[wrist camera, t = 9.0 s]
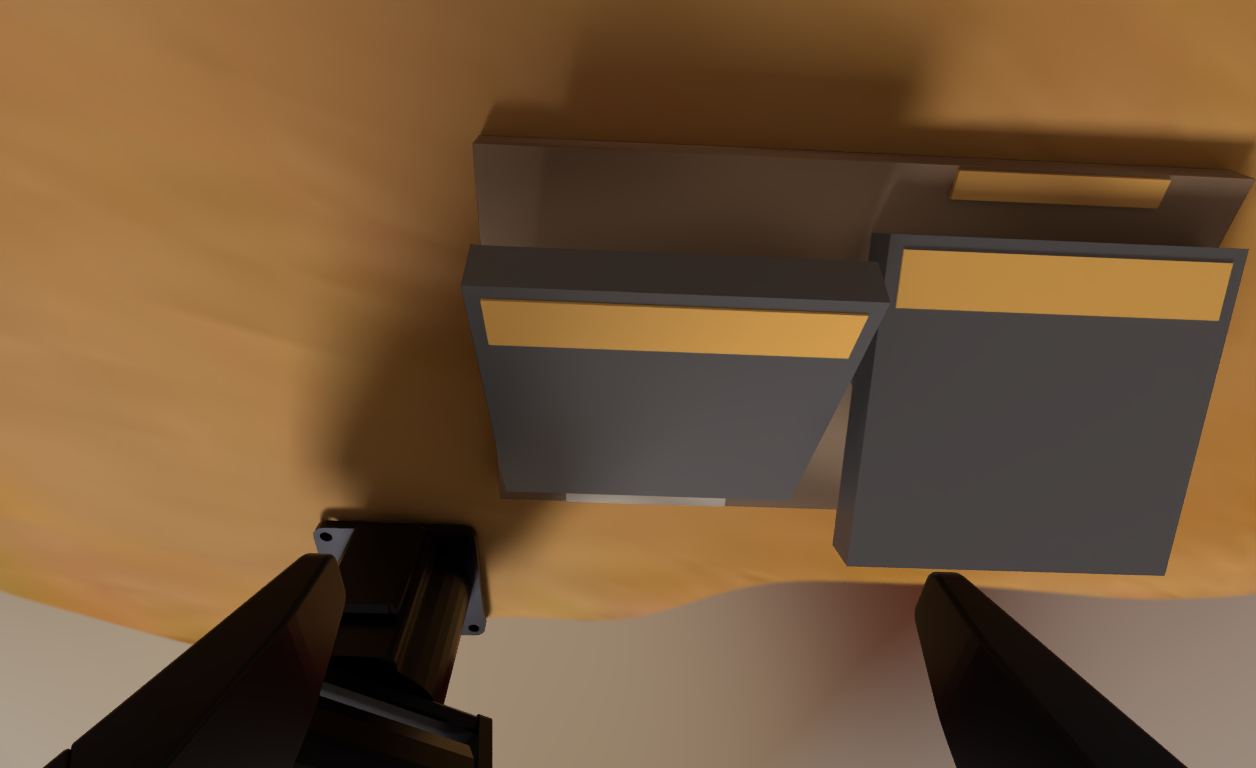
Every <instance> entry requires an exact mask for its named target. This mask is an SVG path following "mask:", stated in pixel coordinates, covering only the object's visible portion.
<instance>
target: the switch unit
mask: <svg viewBox="0 0 1256 768" xmlns="http://www.w3.org/2000/svg"><path fill="white" fill-rule="evenodd" d="M473 155H474V168H475V180H476V193H477V206H478V219H479V231H480V244H481V245H490V246H514V247H538V248H562V249H586V250H609V251H633V252H657V253H681V254H705V255H729V256H753V257H777V258H801V259H824V260H848V261H868V258H869V250H870V242H871V234H872V233H884V234H908V235H931V236H954V237H977V238H1001V239H1024V240H1047V241H1071V242H1094V243H1117V244H1140V245H1164V246H1187V247H1210V248H1218V247H1219V245H1220V243H1221V241H1222V240H1223V238H1224V236H1225V234H1226V232H1227V230H1228V229H1229V227H1230V225H1231V223H1232V221H1233V220H1234V218H1235V216H1236V214H1237V212H1238V210H1239V209H1240V207H1241V205H1242V203H1243V201H1244V200H1245V198H1246V196H1247V194H1248V192H1249V190H1250V189H1251V187H1252V185H1253V183H1254V181H1255V179H1254V178H1251V177H1248V176H1245V175H1242V174H1240V173H1237V172H1234V171H1231V170H1225V169H1203V168H1181V167H1159V166H1138V165H1116V164H1094V163H1072V162H1051V161H1029V160H1007V159H985V158H963V157H942V156H920V155H898V154H876V153H855V152H833V151H811V150H789V149H768V148H746V147H724V146H702V145H681V144H659V143H637V142H615V141H593V140H572V139H550V138H528V137H506V136H485V135H479V136H478V138H477V139H476V140H475V141H474V142H473ZM853 378H854V376H853ZM853 378H852V380H851V382H850V384H849V386H848V387H847V389H846V391H845V393H844V395H843V397H842V399H841V401H840V403H839V405H838V407H837V409H836V411H835V413H834V415H833V417H832V419H831V421H830V423H829V425H828V427H827V429H826V431H825V433H824V435H823V436H822V438H821V440H820V442H819V444H818V446H817V448H816V450H815V452H814V454H813V456H812V458H811V460H810V462H809V464H808V466H807V468H806V470H805V472H804V474H803V476H802V478H801V480H800V482H799V484H798V485H797V487H796V489H795V491H794V493H793V495H792V497H791V499H790V501H784V500H754V499H723V498H693V497H662V496H632V495H601V494H571V493H540V492H509V491H506V488H505V484H504V479H503V475H502V470H501V466H500V461H499V457H498V452H497V460H498V473H499V486H500V498H501V499H530V500H561V501H566V502H593V503H624V504H655V505H686V506H716V507H724V506H745V507H776V508H807V509H837V506H838V498H839V490H840V482H841V474H842V466H843V458H844V450H845V442H846V434H847V426H848V418H849V410H850V402H851V394H852V386H853Z"/></svg>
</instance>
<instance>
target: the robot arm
mask: <svg viewBox="0 0 1256 768" xmlns="http://www.w3.org/2000/svg"><path fill="white" fill-rule="evenodd" d="M328 533H329V534H328ZM313 535H314V540H315V543H316V547H317V550H318V553H308V554H305V555H303V556H301V557H300V558H298V559H297V560H296V561H295V562H294V563H292V564H291V565H290V566H289V567H288V568H286V569H285V570H284V571H283V572H281V573H280V574H279V575H278V576H277V577H275V578H274V579H273V580H272V581H270V582H269V583H268V584H267V585H266V586H264V587H263V588H262V589H261V590H259V591H258V592H257V593H256V594H255V595H253V596H252V597H251V598H250V599H248V600H247V601H246V602H245V603H244V604H242V605H241V606H240V607H239V608H237V609H236V610H235V611H234V612H233V613H231V614H230V615H229V616H228V617H227V618H225V619H224V620H223V621H222V622H220V623H219V624H218V625H217V626H216V627H214V628H213V629H212V630H211V631H209V632H208V633H207V634H206V635H205V636H203V637H202V638H201V639H200V640H198V641H197V642H196V643H195V644H194V645H192V646H191V647H190V648H189V649H187V650H186V651H185V652H184V653H183V654H181V655H180V656H179V657H178V658H177V659H175V660H174V661H173V662H172V663H170V664H169V665H168V666H167V667H166V668H164V669H163V670H162V671H161V672H160V673H158V674H157V675H156V676H155V677H153V678H152V679H151V680H150V681H148V682H147V683H146V684H145V685H144V686H142V687H141V688H140V689H139V690H137V691H136V692H135V693H134V694H133V695H131V696H130V697H129V698H128V699H126V700H125V701H124V702H123V703H122V704H120V705H119V706H118V707H117V708H115V709H114V710H113V711H112V712H111V713H109V714H108V715H107V716H106V717H104V718H103V719H102V720H101V721H100V722H98V723H97V724H96V725H95V726H93V727H92V728H91V729H90V730H89V731H87V732H86V733H85V734H84V735H83V736H81V737H80V738H79V739H78V740H76V741H75V742H74V743H73V744H72V746H71V749H66V750H64V751H63V752H61V753H60V754H59V755H58V756H57V757H55V758H54V759H53V760H52V761H50V762H49V763H48V764H47V765H46V766H44V767H43V768H492V719H491V718H488V717H485V716H483V715H480V714H478V715H477V716H475V715H472V714H469V713H466V712H463V711H461V710H458V709H455V708H452V707H449V706H446V705H444V702H445V698H446V694H447V689H448V686H449V682H450V678H451V674H452V670H453V665H454V661H455V657H456V653H457V649H458V645H459V641H460V636H461V635H480V634H482V633H483V632H484V631H485V626H486V612H485V603H484V594H483V584H482V575H481V566H480V557H479V547H478V538H477V533H476V531H475V530H474V529H473V528H472V527H470V526H466V525H445V524H413V523H382V522H350V521H322V522H321V523H319V524H318V526H317V528H316V529H315V531H314V533H313ZM462 537H466V538H462ZM915 623H916V628H917V632H918V636H919V639H920V644H921V648H922V652H923V656H924V660H925V664H926V668H927V672H928V676H929V680H930V684H931V689H932V692H933V697H934V701H935V704H936V708H937V712H938V716H939V719H940V722H941V725H942V728H943V731H944V734H945V737H946V740H947V743H948V745H949V748H950V751H951V754H952V757H953V759H954V762H955V765H956V768H1188V767H1186V766H1185V765H1184V764H1183V763H1181V762H1180V761H1179V760H1178V759H1177V758H1176V757H1175V756H1173V755H1172V754H1171V753H1170V752H1169V751H1168V750H1166V749H1165V748H1164V747H1163V746H1162V745H1161V744H1159V743H1158V742H1157V741H1156V740H1155V739H1153V738H1152V737H1151V736H1150V735H1149V734H1148V733H1147V732H1145V731H1144V730H1143V729H1142V728H1141V727H1140V726H1138V725H1137V724H1136V723H1135V722H1134V721H1133V720H1131V719H1130V718H1129V717H1127V715H1125V714H1124V713H1123V712H1122V711H1121V710H1120V709H1118V708H1117V707H1116V706H1115V705H1114V704H1113V703H1111V702H1110V701H1109V700H1108V699H1107V698H1105V697H1104V696H1103V695H1102V694H1101V693H1100V692H1099V691H1097V690H1096V689H1095V688H1094V687H1093V686H1092V685H1090V684H1089V683H1088V682H1087V681H1086V680H1084V679H1083V678H1082V677H1081V676H1080V675H1079V674H1077V673H1076V672H1075V671H1074V670H1073V669H1072V668H1070V667H1069V666H1068V665H1067V664H1066V663H1065V662H1063V661H1062V660H1061V659H1060V658H1059V657H1058V656H1056V655H1055V654H1054V653H1053V652H1052V651H1051V650H1049V649H1048V648H1047V647H1046V646H1045V645H1043V644H1042V643H1041V642H1040V641H1039V640H1038V639H1036V638H1035V637H1034V636H1033V635H1031V633H1029V632H1028V631H1027V630H1026V629H1025V628H1024V627H1022V626H1021V625H1020V624H1019V623H1018V622H1017V621H1015V620H1014V619H1013V618H1012V617H1011V616H1009V615H1008V614H1007V613H1006V612H1005V611H1004V610H1002V609H1001V608H1000V607H999V606H998V605H997V604H995V603H994V602H993V601H992V600H991V599H990V598H988V597H987V596H986V595H985V594H984V593H983V592H981V591H980V590H979V589H978V588H977V587H976V586H974V585H973V584H972V583H971V582H970V581H969V580H967V579H966V578H965V577H964V576H962V575H961V574H959V573H954V572H932V573H931V574H930V575H929V576H928V578H927V580H926V582H925V584H924V587H923V589H922V592H921V594H920V596H919V599H918V601H917V604H916V607H915Z"/></svg>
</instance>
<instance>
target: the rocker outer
mask: <svg viewBox="0 0 1256 768" xmlns="http://www.w3.org/2000/svg"><path fill="white" fill-rule="evenodd" d="M1248 250H1249V249H1233V248H1210V247H1187V246H1164V245H1140V244H1117V243H1094V242H1071V241H1047V240H1024V239H1001V238H977V237H954V236H931V235H908V234H884V233H872V234H871V242H870V250H869V258H868V261H872V262H878V264H879V267H880V270H881V273H882V276H883V280H884V283H885V286H886V289H887V293H888V296H889V299H890V302H891V303H890V305H889V307H888V309H887V311H886V313H885V315H884V317H883V319H882V321H881V323H880V325H879V327H878V329H877V331H876V333H875V335H874V336H873V338H872V340H871V342H870V344H869V346H868V348H867V350H866V352H865V354H864V356H863V358H862V360H861V362H860V364H859V366H858V368H857V370H856V372H855V374H854V378H853V386H852V394H851V402H850V410H849V418H848V426H847V434H846V442H845V450H844V458H843V466H842V474H841V482H840V490H839V498H838V506H837V513H836V521H835V529H834V537H833V546H834V548H835V549H836V551H837V552H838V554H839V555H840V557H841V558H842V560H843V561H844V563H845V564H846V566H858V567H891V568H924V569H957V570H990V571H1023V572H1056V573H1089V574H1122V575H1155V576H1165V572H1166V568H1167V564H1168V560H1169V557H1170V553H1171V549H1172V545H1173V541H1174V537H1175V533H1176V529H1177V526H1178V522H1179V518H1180V514H1181V510H1182V506H1183V502H1184V498H1185V495H1186V491H1187V487H1188V483H1189V479H1190V475H1191V471H1192V467H1193V464H1194V460H1195V456H1196V452H1197V448H1198V444H1199V440H1200V436H1201V432H1202V429H1203V425H1204V421H1205V417H1206V413H1207V409H1208V405H1209V401H1210V398H1211V394H1212V390H1213V386H1214V382H1215V378H1216V374H1217V370H1218V367H1219V363H1220V359H1221V355H1222V351H1223V347H1224V343H1225V339H1226V336H1227V332H1228V328H1229V324H1230V320H1231V316H1232V312H1233V308H1234V305H1235V301H1236V297H1237V293H1238V289H1239V285H1240V281H1241V277H1242V273H1243V270H1244V266H1245V262H1246V258H1247V254H1248Z"/></svg>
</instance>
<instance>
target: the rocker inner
mask: <svg viewBox="0 0 1256 768" xmlns="http://www.w3.org/2000/svg"><path fill="white" fill-rule="evenodd" d="M461 288H462V293H463V297H464V302H465V306H466V311H467V316H468V320H469V325H470V329H471V334H472V338H473V343H474V347H475V352H476V356H477V361H478V366H479V370H480V375H481V379H482V384H483V388H484V393H485V397H486V402H487V407H488V411H489V416H490V420H491V425H492V429H493V434H494V438H495V443H496V447H497V452H498V457H499V461H500V466H501V470H502V475H503V479H504V484H505V488H506V491H509V492H540V493H571V494H601V495H632V496H662V497H693V498H723V499H754V500H784V501H790V499H791V497H792V495H793V493H794V491H795V489H796V487H797V485H798V484H799V482H800V480H801V478H802V476H803V474H804V472H805V470H806V468H807V466H808V464H809V462H810V460H811V458H812V456H813V454H814V452H815V450H816V448H817V446H818V444H819V442H820V440H821V438H822V436H823V435H824V433H825V431H826V429H827V427H828V425H829V423H830V421H831V419H832V417H833V415H834V413H835V411H836V409H837V407H838V405H839V403H840V401H841V399H842V397H843V395H844V393H845V391H846V389H847V387H848V386H849V384H850V382H851V380H852V378H853V376H854V374H855V372H856V370H857V368H858V366H859V364H860V362H861V360H862V358H863V356H864V354H865V352H866V350H867V348H868V346H869V344H870V342H871V340H872V338H873V336H874V335H875V333H876V331H877V329H878V327H879V325H880V323H881V321H882V319H883V317H884V315H885V313H886V311H887V309H888V307H889V305H890V303H891V302H890V299H889V296H888V293H887V289H886V286H885V283H884V280H883V276H882V273H881V270H880V267H879V264H878V262H872V261H848V260H824V259H801V258H777V257H753V256H729V255H705V254H681V253H657V252H633V251H609V250H586V249H562V248H538V247H514V246H490V245H470V249H469V253H468V257H467V262H466V266H465V270H464V274H463V279H462V283H461Z"/></svg>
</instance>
